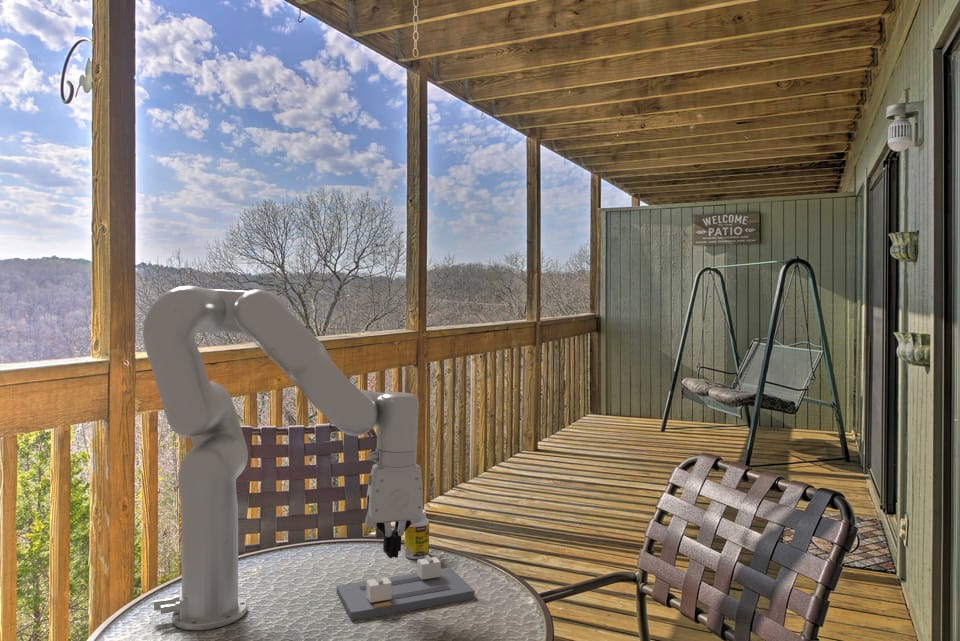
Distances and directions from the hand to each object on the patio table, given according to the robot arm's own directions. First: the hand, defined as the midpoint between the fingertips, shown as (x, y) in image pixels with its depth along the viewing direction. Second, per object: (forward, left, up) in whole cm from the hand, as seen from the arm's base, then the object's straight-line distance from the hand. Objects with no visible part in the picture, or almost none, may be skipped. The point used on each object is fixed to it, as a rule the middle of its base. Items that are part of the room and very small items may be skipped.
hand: (391, 555), depth 124 cm
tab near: (-3, 0, -7) cm, 8 cm away
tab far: (+10, +6, -8) cm, 14 cm away
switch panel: (+4, +3, -9) cm, 10 cm away
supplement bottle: (+13, +23, -10) cm, 28 cm away
